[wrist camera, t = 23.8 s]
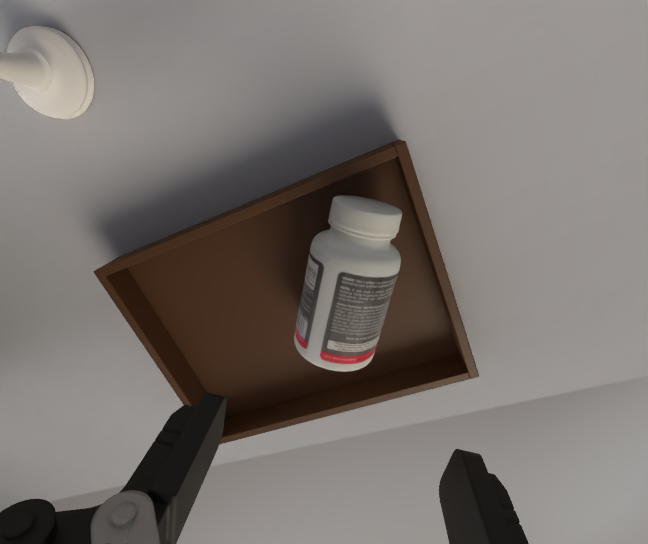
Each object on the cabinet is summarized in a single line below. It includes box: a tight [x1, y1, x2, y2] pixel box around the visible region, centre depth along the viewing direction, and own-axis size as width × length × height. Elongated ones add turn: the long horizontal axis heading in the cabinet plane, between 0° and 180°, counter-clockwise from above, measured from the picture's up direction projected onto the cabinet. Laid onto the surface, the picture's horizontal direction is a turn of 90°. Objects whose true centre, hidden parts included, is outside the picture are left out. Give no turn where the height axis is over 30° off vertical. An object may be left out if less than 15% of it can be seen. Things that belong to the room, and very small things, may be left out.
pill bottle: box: [294, 195, 402, 372], centre depth 22 cm, size 5×5×10 cm
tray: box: [94, 140, 479, 444], centre depth 25 cm, size 21×16×3 cm
